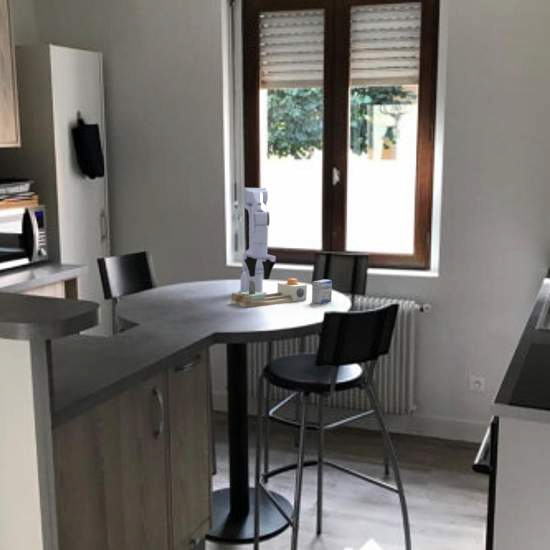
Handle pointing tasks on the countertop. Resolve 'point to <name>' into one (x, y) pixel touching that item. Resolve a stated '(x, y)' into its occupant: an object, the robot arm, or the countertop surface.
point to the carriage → (253, 292)
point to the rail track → (260, 300)
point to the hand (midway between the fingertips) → (259, 277)
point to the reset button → (292, 281)
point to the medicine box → (321, 291)
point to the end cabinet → (293, 290)
